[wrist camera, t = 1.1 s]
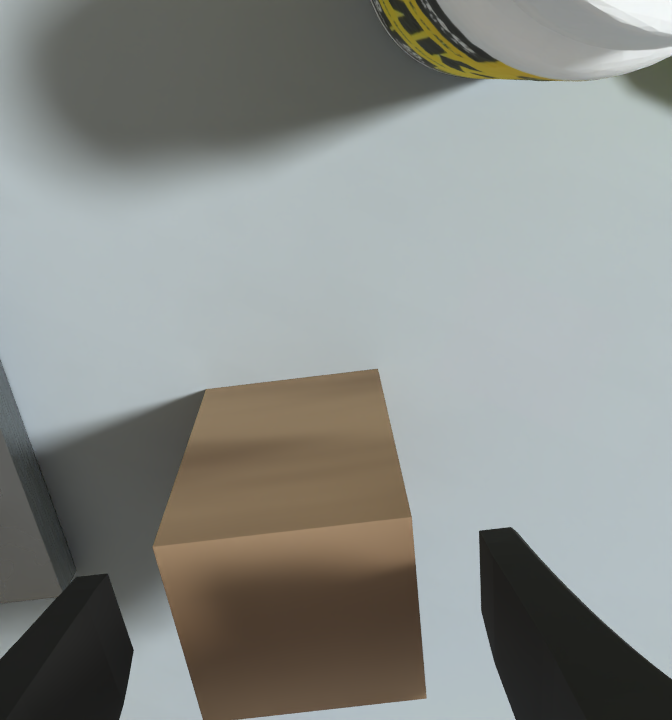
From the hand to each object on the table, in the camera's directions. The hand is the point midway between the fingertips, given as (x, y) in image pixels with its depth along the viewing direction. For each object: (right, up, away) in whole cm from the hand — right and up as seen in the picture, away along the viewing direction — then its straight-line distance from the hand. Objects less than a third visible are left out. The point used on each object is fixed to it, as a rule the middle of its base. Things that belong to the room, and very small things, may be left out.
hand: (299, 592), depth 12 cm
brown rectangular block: (0, +2, +5) cm, 5 cm away
